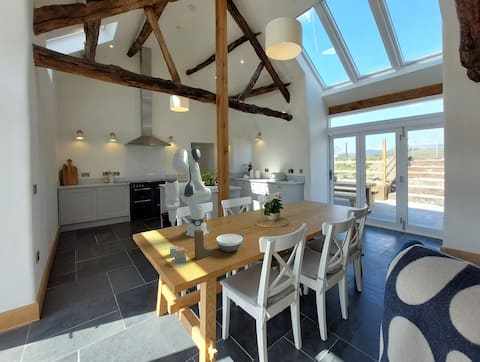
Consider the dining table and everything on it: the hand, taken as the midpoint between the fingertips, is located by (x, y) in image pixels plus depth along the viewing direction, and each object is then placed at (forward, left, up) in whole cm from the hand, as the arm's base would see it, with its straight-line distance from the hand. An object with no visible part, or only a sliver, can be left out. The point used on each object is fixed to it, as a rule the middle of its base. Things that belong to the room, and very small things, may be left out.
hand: (173, 224), depth 150 cm
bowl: (+1, +37, -21) cm, 43 cm away
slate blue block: (+10, +4, -21) cm, 23 cm away
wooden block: (+8, +18, -21) cm, 29 cm away
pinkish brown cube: (+10, +4, -18) cm, 21 cm away
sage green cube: (0, 0, -21) cm, 21 cm away
